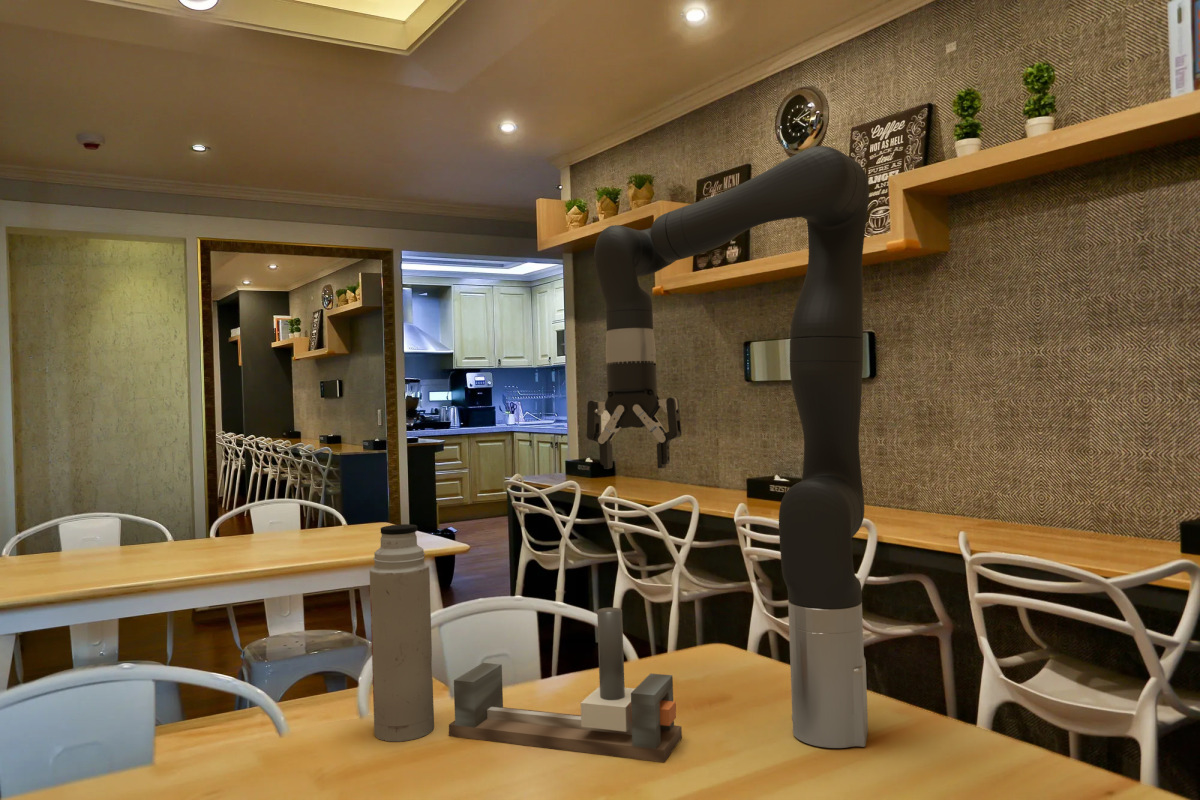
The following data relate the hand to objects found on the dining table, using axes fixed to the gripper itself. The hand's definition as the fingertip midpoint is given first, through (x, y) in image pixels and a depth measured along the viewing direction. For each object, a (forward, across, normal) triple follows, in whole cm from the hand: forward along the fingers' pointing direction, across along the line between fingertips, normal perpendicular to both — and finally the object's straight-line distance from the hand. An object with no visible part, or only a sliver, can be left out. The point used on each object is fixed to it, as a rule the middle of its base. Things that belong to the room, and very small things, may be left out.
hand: (634, 468), depth 127 cm
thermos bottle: (+34, -27, -22) cm, 49 cm away
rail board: (+34, -5, -18) cm, 39 cm away
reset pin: (+31, +8, -18) cm, 36 cm away
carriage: (+31, +2, -18) cm, 36 cm away
